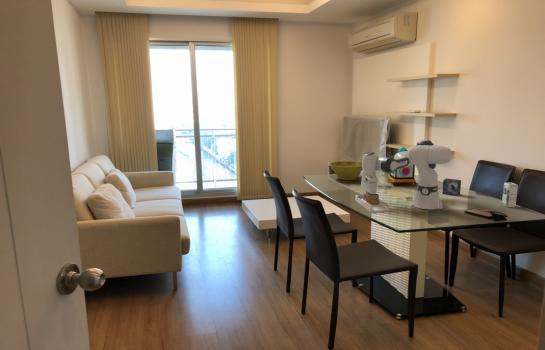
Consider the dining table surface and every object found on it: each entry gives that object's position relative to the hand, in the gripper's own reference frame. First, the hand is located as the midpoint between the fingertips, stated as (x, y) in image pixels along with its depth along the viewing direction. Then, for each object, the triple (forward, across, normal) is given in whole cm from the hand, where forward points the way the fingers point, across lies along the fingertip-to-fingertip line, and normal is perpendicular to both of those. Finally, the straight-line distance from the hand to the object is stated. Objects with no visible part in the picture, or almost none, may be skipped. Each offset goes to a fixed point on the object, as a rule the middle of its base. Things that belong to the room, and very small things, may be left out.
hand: (368, 197), depth 260 cm
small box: (+4, -12, +65) cm, 66 cm away
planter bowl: (+4, -79, +9) cm, 80 cm away
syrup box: (+4, +23, +83) cm, 86 cm away
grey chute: (+4, +7, 0) cm, 8 cm away
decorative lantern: (+4, -51, +45) cm, 68 cm away
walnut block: (+2, +6, 0) cm, 6 cm away
